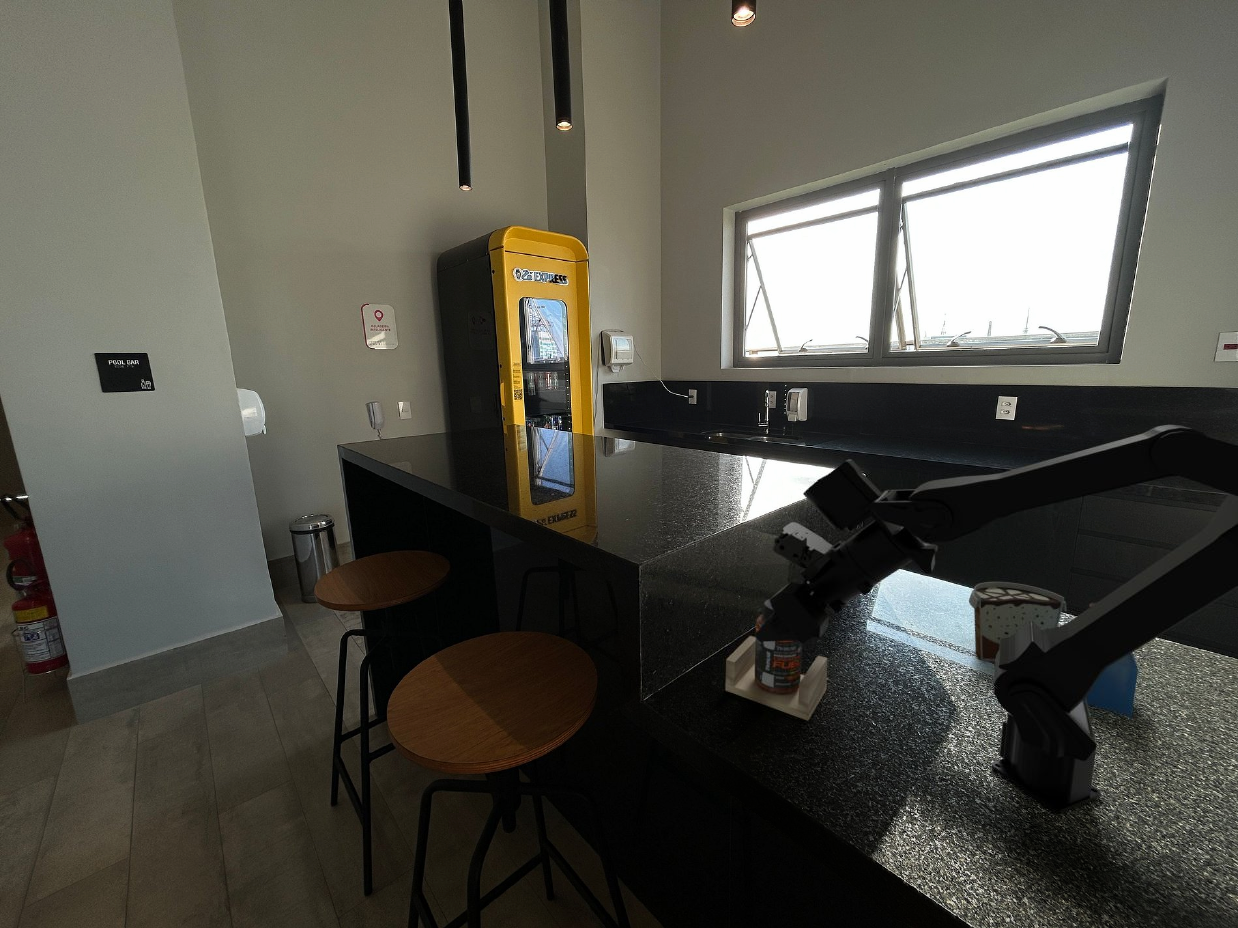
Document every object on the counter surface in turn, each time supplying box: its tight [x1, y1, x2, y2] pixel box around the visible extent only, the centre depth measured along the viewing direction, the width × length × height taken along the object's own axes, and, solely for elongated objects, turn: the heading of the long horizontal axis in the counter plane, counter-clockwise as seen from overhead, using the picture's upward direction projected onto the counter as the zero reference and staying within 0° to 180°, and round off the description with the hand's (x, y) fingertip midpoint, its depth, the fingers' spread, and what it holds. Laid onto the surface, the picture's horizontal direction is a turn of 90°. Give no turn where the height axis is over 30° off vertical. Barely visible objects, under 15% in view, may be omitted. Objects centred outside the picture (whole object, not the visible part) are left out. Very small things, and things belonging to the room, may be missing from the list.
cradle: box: [725, 635, 828, 721], centre depth 69 cm, size 11×8×4 cm
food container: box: [968, 581, 1068, 662], centre depth 77 cm, size 12×6×10 cm, turn 84°
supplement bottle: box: [755, 598, 803, 694], centre depth 68 cm, size 6×6×11 cm
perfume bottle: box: [1086, 602, 1139, 717], centre depth 66 cm, size 6×6×12 cm
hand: (770, 623), depth 68 cm, fingers open, 9 cm apart
